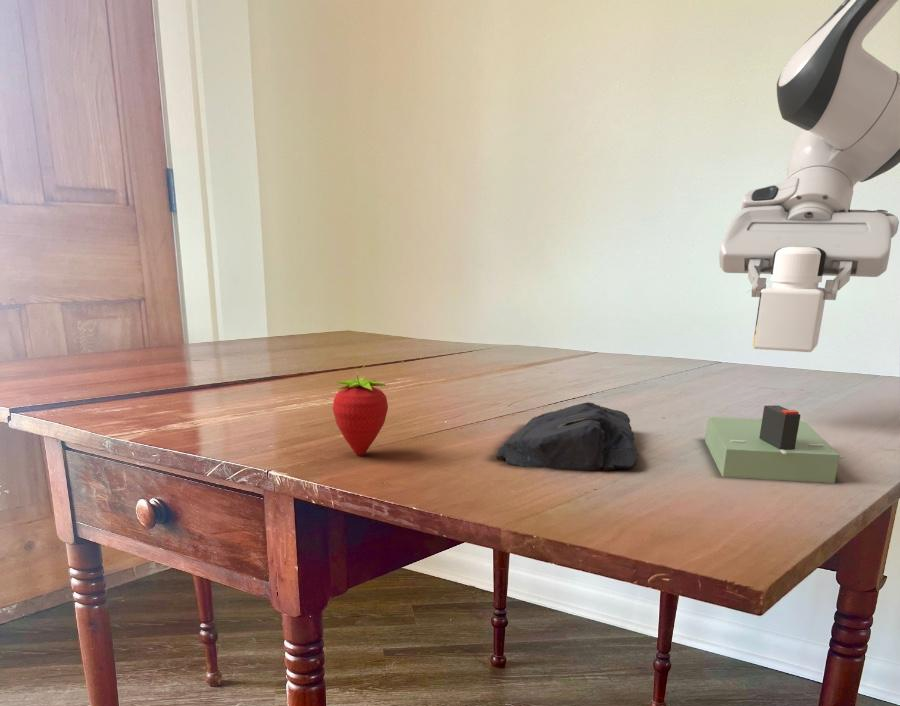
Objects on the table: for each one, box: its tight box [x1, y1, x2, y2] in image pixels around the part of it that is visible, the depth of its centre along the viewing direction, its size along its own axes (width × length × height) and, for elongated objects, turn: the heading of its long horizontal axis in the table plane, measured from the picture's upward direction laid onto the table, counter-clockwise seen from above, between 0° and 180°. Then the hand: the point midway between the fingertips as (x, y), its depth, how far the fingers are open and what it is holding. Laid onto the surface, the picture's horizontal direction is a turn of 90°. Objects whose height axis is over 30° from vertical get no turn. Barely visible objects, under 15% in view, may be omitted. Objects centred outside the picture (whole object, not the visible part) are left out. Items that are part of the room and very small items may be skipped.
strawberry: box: [332, 363, 389, 457], centre depth 94 cm, size 6×8×10 cm
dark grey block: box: [759, 404, 801, 449], centre depth 90 cm, size 5×2×4 cm, turn 5°
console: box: [704, 416, 841, 484], centre depth 95 cm, size 11×18×3 cm, turn 171°
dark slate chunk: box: [495, 401, 639, 472], centre depth 99 cm, size 15×22×5 cm
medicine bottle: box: [752, 247, 826, 353], centre depth 109 cm, size 7×7×12 cm
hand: (792, 295), depth 108 cm, fingers closed on medicine bottle, 7 cm apart
